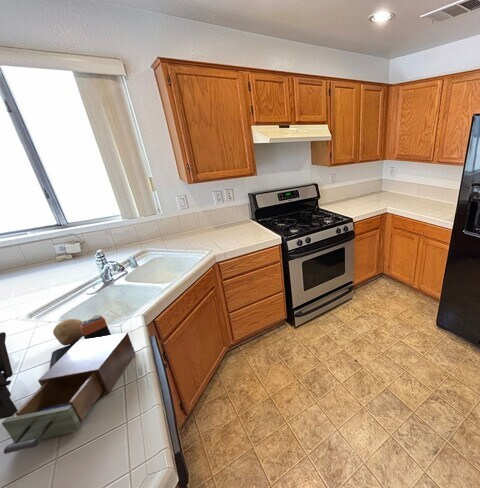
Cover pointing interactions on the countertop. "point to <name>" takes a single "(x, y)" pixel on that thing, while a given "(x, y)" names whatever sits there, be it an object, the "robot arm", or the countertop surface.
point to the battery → (94, 328)
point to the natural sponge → (68, 331)
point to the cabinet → (95, 360)
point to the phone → (59, 354)
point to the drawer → (53, 410)
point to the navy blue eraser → (55, 407)
